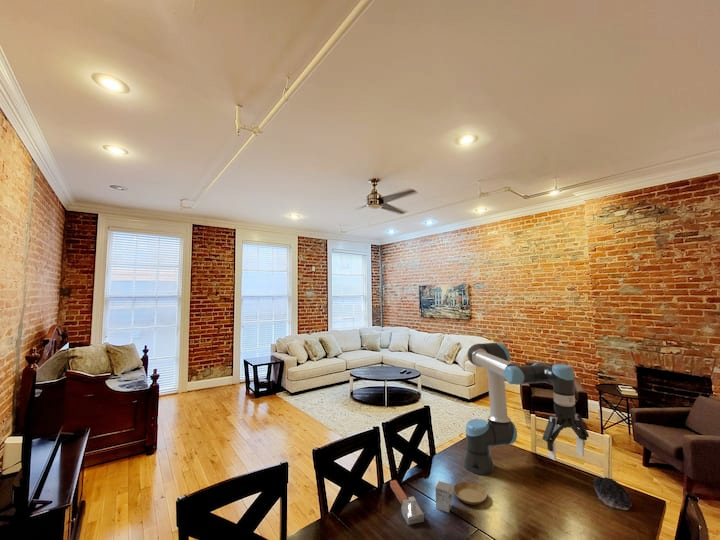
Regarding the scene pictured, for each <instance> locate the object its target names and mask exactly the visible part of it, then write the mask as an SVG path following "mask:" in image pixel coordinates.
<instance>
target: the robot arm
mask: <svg viewBox="0 0 720 540" xmlns="http://www.w3.org/2000/svg"><path fill="white" fill-rule="evenodd" d="M466 355H467V359H468V361H469V362H470V363H471V364H472V365H474V366H476V367H478V368H481V367H482V368H484V369H485V370H486V372H487V383H488V397H489V399H488V400H489V408H490V409H489V411H490V415H488V417H487V420H485V419H482V418H472V419H470V420H468V421H467V423H466V424H465V441H466V442H465V444H466V450H465V454H464V458H463V467H464V468H465V470H467V471H469V472H470V473H473V474H476V475H486V476H487V475H490V474H492V473H493V472H494V461H493V460H492V457H491V453H490V448H491V447H497V446H498V447H499V446H509V445H512V444H514V443H515V442H516V441H517V438H518V431H517V427H516V425H515V423H514V422H513V421H512V419H511V418H510V416H509V415H508V405H507V394H506V383H505V382H507V383H508V384H510V385H517V386H519V385H525V384H526V385H528V384H540V383H541V384H543V383H545V384H548V385H551V386H552V387H553V389H552V392H553V410H554V414H555V416H551V415H549V416H548V422H547V423H546V426H545V427H546V428H545V429H544V433H543V435H542V440H543V441H545V442H546V443H547V444H546V445H547V450H548V458H550V459H551V460H553V461H554V462H555V461H557V453H556V452H557V451H556V449H557V448H556V443H555V441H556V439H557V437H558V436H559V434H560V432H561V431H563V430H564V429H566V428H571V429H572V431H573V432H574V433H575V434H576V435H577V436H576V439H575V441H576V443H575V444H576V454H578V455H580V456H581V457H585V444H586V443H585V442H586V441H587V440H588V438H589V437H590V435H589V432H588V431H587V428H586V426H585V424H584V422H583V419H582V415H581V414H578V413H577V412H576V394H575V392H576V391H575V390H576V389H575V388H576V387H575V374H574V373H575V371H574V368H573V367H572V366H570V365H567V364H564V363H563V364H562V363H556V364H553V365H552V366H551V365H548V364H546V363H544V362H543V363H542V362H534V363H533V364H531V365H519V364H516V363H513V362H511V353H510V351H509V349H508V347H507V346H506V345H505V344H503V343H501V342H486V343H475V344H473V345H472V346H470V347H469V348H468V351H467V354H466Z"/></svg>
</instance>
